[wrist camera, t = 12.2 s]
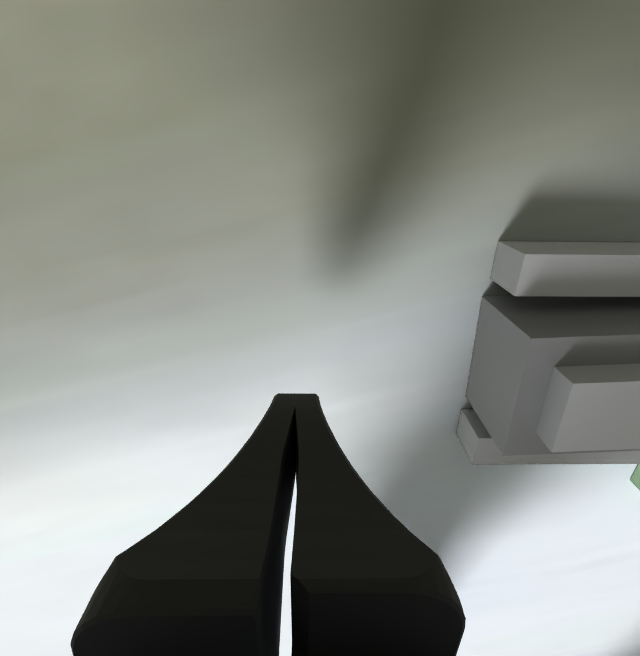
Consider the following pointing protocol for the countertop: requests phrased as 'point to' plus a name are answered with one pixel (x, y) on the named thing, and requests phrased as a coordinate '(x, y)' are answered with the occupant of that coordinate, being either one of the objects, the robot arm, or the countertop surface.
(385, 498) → the countertop surface
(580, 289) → the deck
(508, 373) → the stepped grey block
